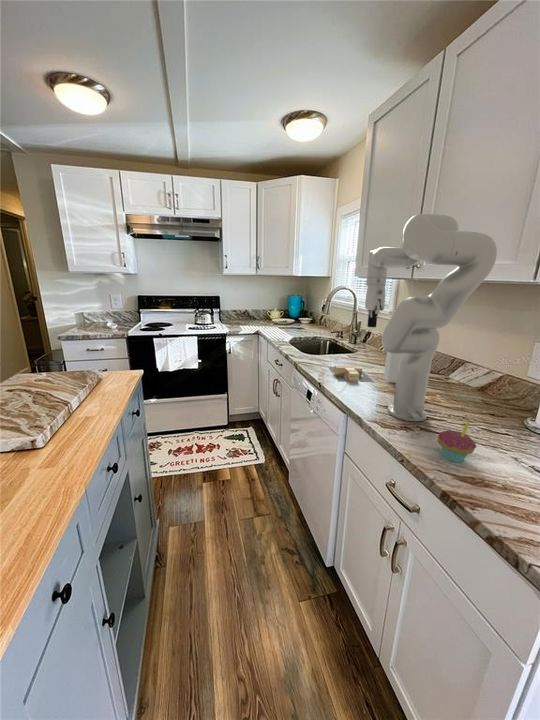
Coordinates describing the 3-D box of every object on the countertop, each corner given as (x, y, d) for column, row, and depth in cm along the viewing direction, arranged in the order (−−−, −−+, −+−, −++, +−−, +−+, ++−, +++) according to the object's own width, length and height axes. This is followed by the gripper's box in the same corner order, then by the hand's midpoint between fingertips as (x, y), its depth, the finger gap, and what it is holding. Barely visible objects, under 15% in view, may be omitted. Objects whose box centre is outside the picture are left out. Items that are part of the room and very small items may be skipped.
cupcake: (477, 460, 78) (487, 418, 75) (462, 471, 74) (472, 427, 70) (443, 445, 85) (451, 406, 82) (428, 454, 80) (436, 413, 77)
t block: (367, 382, 131) (368, 373, 130) (340, 382, 131) (341, 373, 130) (358, 373, 143) (359, 365, 142) (333, 373, 142) (334, 365, 141)
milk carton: (398, 380, 138) (404, 340, 133) (403, 385, 132) (410, 343, 126) (383, 379, 139) (388, 339, 134) (387, 384, 132) (393, 343, 127)
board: (373, 384, 132) (374, 381, 132) (338, 383, 132) (338, 381, 131) (358, 369, 153) (358, 367, 153) (327, 368, 153) (327, 366, 152)
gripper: (393, 282, 114) (387, 329, 119) (378, 282, 129) (373, 324, 133) (373, 281, 114) (369, 329, 118) (360, 282, 129) (357, 324, 133)
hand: (371, 326), depth 126 cm, fingers closed
